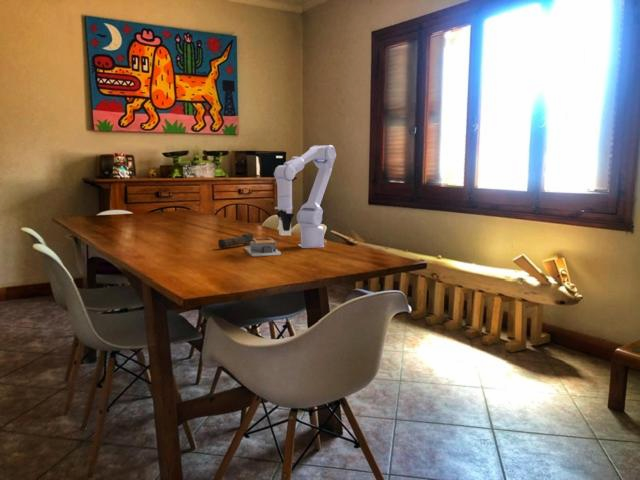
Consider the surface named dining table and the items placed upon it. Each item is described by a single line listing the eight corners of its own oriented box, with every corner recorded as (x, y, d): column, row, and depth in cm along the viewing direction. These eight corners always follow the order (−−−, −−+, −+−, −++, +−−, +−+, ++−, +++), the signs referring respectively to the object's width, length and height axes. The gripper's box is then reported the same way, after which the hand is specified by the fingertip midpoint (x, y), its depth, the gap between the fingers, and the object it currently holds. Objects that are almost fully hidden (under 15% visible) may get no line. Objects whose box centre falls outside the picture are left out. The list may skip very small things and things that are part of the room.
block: (288, 233, 209) (288, 216, 208) (291, 235, 205) (291, 217, 204) (279, 234, 207) (278, 217, 206) (281, 235, 204) (281, 218, 203)
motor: (270, 247, 214) (270, 235, 214) (280, 254, 197) (280, 242, 197) (244, 249, 211) (244, 236, 210) (252, 256, 194) (252, 243, 193)
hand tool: (223, 249, 208) (224, 238, 207) (217, 247, 211) (217, 236, 210) (257, 244, 223) (258, 233, 222) (251, 242, 225) (252, 232, 224)
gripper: (270, 195, 209) (271, 228, 211) (279, 197, 196) (279, 232, 198) (287, 194, 212) (288, 227, 214) (296, 196, 198) (297, 231, 200)
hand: (285, 229), depth 206 cm, fingers closed on block, 4 cm apart
